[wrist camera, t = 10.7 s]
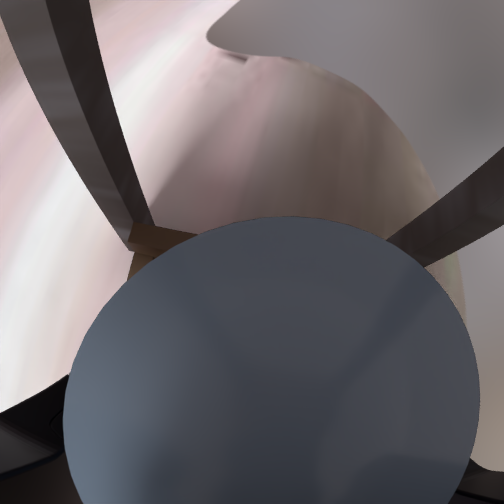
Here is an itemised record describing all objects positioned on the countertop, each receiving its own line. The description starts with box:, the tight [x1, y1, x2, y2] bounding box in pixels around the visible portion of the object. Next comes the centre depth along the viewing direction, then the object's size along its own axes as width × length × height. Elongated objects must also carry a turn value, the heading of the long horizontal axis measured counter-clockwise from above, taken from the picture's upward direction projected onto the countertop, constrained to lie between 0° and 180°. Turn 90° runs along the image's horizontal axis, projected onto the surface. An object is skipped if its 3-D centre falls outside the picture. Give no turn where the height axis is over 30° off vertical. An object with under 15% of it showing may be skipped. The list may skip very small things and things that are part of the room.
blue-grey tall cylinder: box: [63, 216, 480, 504], centre depth 9 cm, size 6×6×12 cm
